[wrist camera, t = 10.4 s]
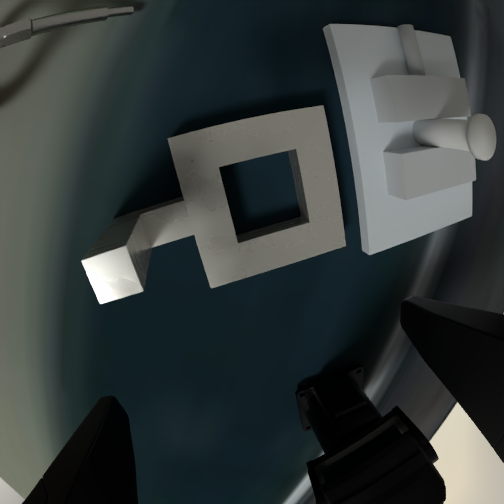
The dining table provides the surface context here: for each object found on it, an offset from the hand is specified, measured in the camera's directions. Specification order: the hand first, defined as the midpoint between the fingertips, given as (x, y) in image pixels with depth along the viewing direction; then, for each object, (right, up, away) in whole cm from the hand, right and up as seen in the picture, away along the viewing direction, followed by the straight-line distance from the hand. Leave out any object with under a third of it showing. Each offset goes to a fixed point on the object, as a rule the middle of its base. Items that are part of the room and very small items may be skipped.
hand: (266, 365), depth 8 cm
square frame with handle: (-2, +6, +10) cm, 12 cm away
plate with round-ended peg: (+12, +12, +12) cm, 20 cm away
